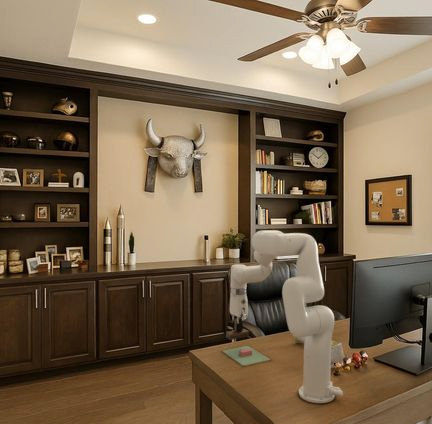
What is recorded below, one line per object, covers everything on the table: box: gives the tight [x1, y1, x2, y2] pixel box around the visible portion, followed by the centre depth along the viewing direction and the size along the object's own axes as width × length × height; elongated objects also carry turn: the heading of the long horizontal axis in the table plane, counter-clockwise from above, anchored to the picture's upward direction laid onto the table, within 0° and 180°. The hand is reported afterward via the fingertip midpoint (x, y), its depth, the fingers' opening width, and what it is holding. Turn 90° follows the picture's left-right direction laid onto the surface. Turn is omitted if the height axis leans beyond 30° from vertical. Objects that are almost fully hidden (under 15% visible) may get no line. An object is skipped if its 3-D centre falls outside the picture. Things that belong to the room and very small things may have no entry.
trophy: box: [292, 335, 340, 364], centre depth 180 cm, size 8×8×30 cm
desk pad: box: [222, 345, 272, 367], centre depth 174 cm, size 20×14×1 cm
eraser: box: [239, 349, 252, 357], centre depth 174 cm, size 3×5×2 cm, turn 122°
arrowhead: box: [331, 342, 346, 369], centre depth 163 cm, size 8×2×10 cm, turn 119°
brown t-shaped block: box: [225, 318, 250, 341], centre depth 181 cm, size 4×10×8 cm, turn 122°
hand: (237, 330), depth 181 cm, fingers closed on brown t-shaped block, 2 cm apart
